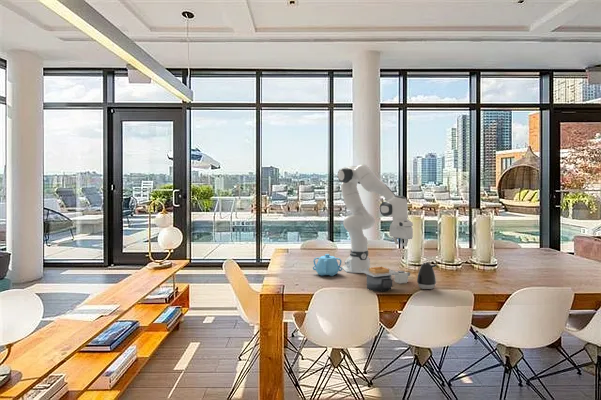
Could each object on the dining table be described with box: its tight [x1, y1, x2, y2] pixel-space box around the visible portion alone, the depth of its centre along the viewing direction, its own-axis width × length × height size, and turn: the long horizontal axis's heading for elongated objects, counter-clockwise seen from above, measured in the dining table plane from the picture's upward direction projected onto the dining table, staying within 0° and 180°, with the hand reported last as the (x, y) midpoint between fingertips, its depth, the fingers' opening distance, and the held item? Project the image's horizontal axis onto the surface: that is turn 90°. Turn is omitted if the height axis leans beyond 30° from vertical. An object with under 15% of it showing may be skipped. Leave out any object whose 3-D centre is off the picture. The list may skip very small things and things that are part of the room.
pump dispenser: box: [416, 261, 437, 290], centre depth 243 cm, size 10×10×15 cm
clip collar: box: [369, 266, 390, 273], centre depth 245 cm, size 8×9×2 cm
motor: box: [360, 268, 399, 292], centre depth 244 cm, size 18×16×10 cm
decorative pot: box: [312, 253, 343, 277], centre depth 282 cm, size 16×16×14 cm
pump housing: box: [394, 270, 411, 284], centre depth 260 cm, size 5×9×7 cm, turn 111°
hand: (400, 245), depth 258 cm, fingers open, 8 cm apart
